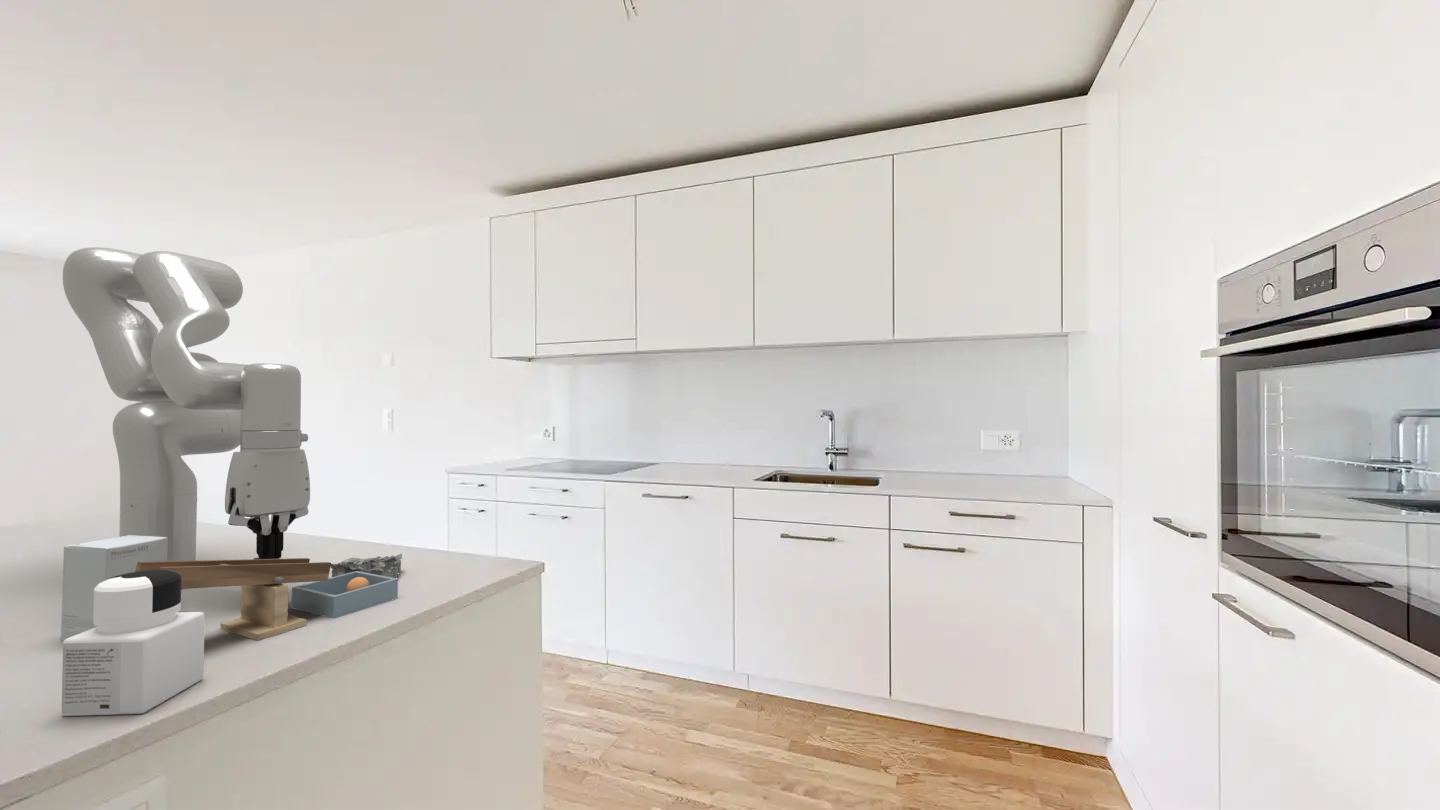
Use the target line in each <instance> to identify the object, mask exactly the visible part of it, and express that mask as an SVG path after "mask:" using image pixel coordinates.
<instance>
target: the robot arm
mask: <svg viewBox="0 0 1440 810" xmlns="http://www.w3.org/2000/svg"><path fill="white" fill-rule="evenodd" d="M62 285H63V290H64V294H65V296H66V299H67V301H68V304H69V305H70V307H71V309H72V311H73V312H74V313H75V315H76V316H77V318H78V319H79V320H80V322H81V323H82V324H83V326H84V328H85V329H86V330H87V332H88V335H89V336H90V338H91V340H92V344H93V346H94V348H95V351H96V354H97V357H98V360H99V362H100V363H99V364H100V365H101V368H102V370H103V373H104V376H105V379H106V381H107V383H108V386H109V387H110V390H111V391H112V392H113V393H114V396H115V395H116V397H118V398H119V399H121V400H125V401H129V402H134V403H132V404H129V405H127V406H125V407H123V408H122V409H120V410H119V411H118V412H117V413H116V415H115V416H114V418H113V421H112V435H113V441H114V443H115V447H116V453H117V458H118V465H119V466H118V467H119V534H118V535H119V536H118V537H122V536H128V535H136V536H155V537H168V545H167V561H197V527H198V525H197V524H198V523H197V522H198V521H197V519H198V517H197V516H198V514H197V513H198V511H197V510H198V480H197V478H196V475H195V473H194V471H193V470H192V469H191V467H190V466H189V465H188V464H187V463H186V462H185V461H184V459H183V458H182V457H183V456H192V455H207V454H209V455H210V454H211V455H212V454H219V453H226V452H230V451H233V450H235V449H238V447H239V448H240V449H239V451H234V452H232V455H231V456H232V457H231V459H230V463H229V467H228V472H227V478H226V484H225V494H224V511H225V513H226V514H227V515H229V518H228V521H227V524H228V525H229V526H234V527H246V528H248V529H249V530H250V531H252V534H256V543H255V544H256V548H255V549H256V550H255V551H256V554H257V555H258V556H257V558H260V559H274V558H275V559H278V558H279V559H282V551H284V534H285V532H287V531H288V529H289V526H290V525H291V524H292V523H293V522H294V521H295V520H297V519H299V518H302V517H305V516H307V515H308V514H309V507H308V506H309V504H310V501H311V482H310V481H311V480H310V479H311V478H310V470H309V463H308V460H307V456H306V453H305V449H301V447H302V444H303V442H308V441H309V435H308V434H307V433H302V430H301V421H302V420H301V416H302V414H301V412H302V411H301V407H302V374H301V371H300V369H299V368H297V367H296V366H294V365H292V364H291V365H290V364H283V363H282V364H281V363H259V362H258V363H251V364H243V363H236V362H235V363H234V362H232V363H231V362H223V361H222V362H221V361H220V362H219V361H218V360H217V359H215V358H214V357H212V356H210V355H208V354H204V353H200V352H192V351H191V350H189V348H191V347H192V348H193V347H194V346H199V345H203V344H205V343H209V342H212V341H214V340H216V339H218V338H219V337H221V336H222V335H223V334H224V333H225V332H226V331H227V330H228V328H229V326H230V321H231V320H230V316H229V314H228V312H227V309H231V308H233V307H235V306H236V305H238V303H239V302H240V301H241V300H242V297H243V293H244V287H243V281H242V280H241V277H240V276H239V274H238V273H237V272H236V270H234V269H233V268H232V267H231V266H230V265H227V264H225V263H223V262H220V261H219V262H218V261H215V260H211V259H206V258H203V257H202V258H201V257H198V256H194V255H193V256H192V255H188V254H185V253H179V252H173V251H167V250H166V251H164V250H156V251H150V252H145V253H143V254H141V253H138V252H131V251H126V250H122V249H118V248H109V247H98V246H97V247H96V246H95V247H83V248H79V249H77V250H74V251H73V252H71V253H70V254H69V255H68V256H67V257H66V259H65V261H64V265H63V268H62ZM127 300H128V301H127ZM129 301H134V302H140V303H141V302H142V303H148V304H149V305H150V307H151V309H152V311H153V312H154V314H155V315H156V317H157V318H158V320H159V322H160V323H161V325H162V327H161V329H160V330H158V328H157V326H156V325H155V324H154V323H153V321H152V320H151V319H150V318H149V317H147V316H146V315H145V314H144V313H143V312H142V311H140V309H138V308H136V307H135V306H133V305H132V304H131V303H130V302H129ZM270 515H271V516H270Z"/></svg>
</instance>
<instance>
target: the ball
mask: <svg viewBox="0 0 1440 810" xmlns="http://www.w3.org/2000/svg"><path fill="white" fill-rule="evenodd" d="M367 586H370V584H369V581H368V580H367V579H366V578H363V577H356V578H354V579H352V580H351V581H350V582H349V583H348V584H347V588H346V590H347V592H349V591H352V590H356V589H360V588H363V587H367Z"/></svg>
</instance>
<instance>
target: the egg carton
mask: <svg viewBox="0 0 1440 810" xmlns="http://www.w3.org/2000/svg"><path fill="white" fill-rule="evenodd" d="M402 560H403V553H399V554H396V555H390V556H388V555H387V556H384V557H382V556H380V555H378V556H376V557H366V558H358V557H349V558H346V559H345V560H343V561H341V562H338V563H331V567H330V569H331V572H330V573H331V577H335V576H339V575H343V574H347V573H351V572H355V571H360V572H365V573H370V574H376V575H381V576H386V577H391V578H397V576H399V574H398V573H400V572H401V573H402ZM401 573H400V574H401ZM397 579H398V578H397Z"/></svg>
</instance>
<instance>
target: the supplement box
mask: <svg viewBox="0 0 1440 810" xmlns="http://www.w3.org/2000/svg"><path fill="white" fill-rule="evenodd" d="M167 545H168V537H155V536H136V535H128V536H122V537H119V536H118V537H116V536H115V537H110V538H105V539H98V540H92V541H86V542H80V543H74V544H69V545H65V546H63V558H62V559H63V560H62V561H63V565H62V567H63V569H62V588H61V589H62V592H61V593H62V594H61V595H62V596H61V621H60V622H61V627H60V628H61V629H60V641H61V642H64V640H65V639H67V638H69V637H72V636H75V635H77V634H80V633H83V632H85V631H88V630H90V629H93V628H96V627H98V626H95V625H94V624H93V615H94V588H95V587H96V586H97V585H98V584H99V583H101V582H103V581H105V580H107V579H109V578H112V577H115V576H118V575H122V574H127V573H132V572H135V571H136V567H137V563H138V562H159V561H167Z"/></svg>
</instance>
